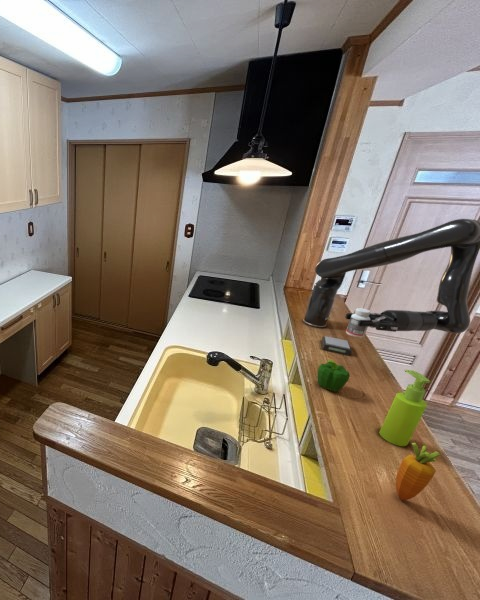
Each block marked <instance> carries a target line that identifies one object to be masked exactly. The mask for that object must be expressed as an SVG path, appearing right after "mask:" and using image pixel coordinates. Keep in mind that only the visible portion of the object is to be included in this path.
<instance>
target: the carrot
mask: <svg viewBox="0 0 480 600" xmlns="http://www.w3.org/2000/svg"><path fill="white" fill-rule="evenodd" d="M411 446H412V448H413V451H414V455H413V454H408V455H407V456H405V457H404V458H403V459H402V461H401V463H400V465H399V467H398V469H397V473H396V476H395V477H396V478H395V490H396V494H397V497H398V499H399V500H401V501H408V500H411V499H413V498H415V497H417V496H418V495H419V494H420V493H421V492H422V491H423V490H424V489H425V488H427V486H428V485H429V483H430V482H431V481H432V479H433V478H434V476H435V474H436V472H437V470H436V468H435V467H434V466H433V464H432V463H433V462H437V459H436V458H438V457H440V456H441V454H440V452H439V451H433V452H431V453H429V452H428V451H427V449H428V446H427V445H422V448H421V450H419V446H418V445H417V443H416V442H411Z"/></svg>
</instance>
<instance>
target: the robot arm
mask: <svg viewBox="0 0 480 600" xmlns="http://www.w3.org/2000/svg"><path fill="white" fill-rule="evenodd" d="M445 248H450V255H449V260H448V263H447V266H446V268H445V270H444V271H443V274H442V275H441V278H440V281H439V283H438V288H437V289H438V290H437V296H436V303H437V304H439V305H441V306H444V307H445V308H446V311H445V310H444V311H443V310H427V311H420V310H419V311H417V310H415V311H414V310H399V309H386V310H383V311H382V312H381V313H380V312H370V315H369V316H368V317H370V320H359V322H358V326H363V327H367V328H368V327H369V328H371V329H374V328H375V330H377V331H383V332H394V333H396V332H428V331H432V330H437V331H442V332H446V333H450V334H463V333H464V332H466V331H468V329H469V328H470V325H471V316H470V311H469V306H468V302H467V301H468V296H469V290H470V284H471V279H472V274H473V270H474V267H475V264H476V261H477V258H478V255H479V252H480V220H477V219H473V218H472V219H471V218H458V219H453V220H450V221H447V222H445V223H442V224H440V225H437V226H434V227H431V228H429V229H426V230H423V231H421V232H418V233H414V234H409V235H404V236H400V237H397V238H393V239H389V240H385V241H383V242H379V243H376V244H373V245H370V246H367V247H364V248H361V249H359V250H356V251H353V252H350V253H348V254H344V255H340V256H335V257H329V258H324V259H321V260H320V261H319V262H318V263H316V265H315V268H314V271H315V272H314V273H315V274H316V275H317V276H318V277H320V278H319V280H318V281H317V282H315V283H314V285H313V287H312V292H311V295H310V298H309V302H308V304H307V309H306V311H305V315H304V318H303V320H302V321H303V323H304V324H306V325H308V326H311V327H314V328H326V327H327V324H328V321H329V320H330V319H331V316H330V315H331V312H332V309H333V306H334V303H335V299H336V296H337V293H338V291H339V289H340V288H341V286H342V284H343V282H344V279H345V277H346V274H347V273H348V272H352V271H353V272H354V271H358V270H365V269H371V268H377V267H378V268H379V267H382V266H383V267H384V266H387V265H391V264H396V263H399V262H402V261H405V260H408V259H411V258H413V257H416V256H417V255H420V254H422V253H426V252H430V251H433V250H440V249H445ZM352 314H355V310H354V312H353V313H352V312H347V313H345V316H344V318H345V320H350V318H351V315H352Z"/></svg>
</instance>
